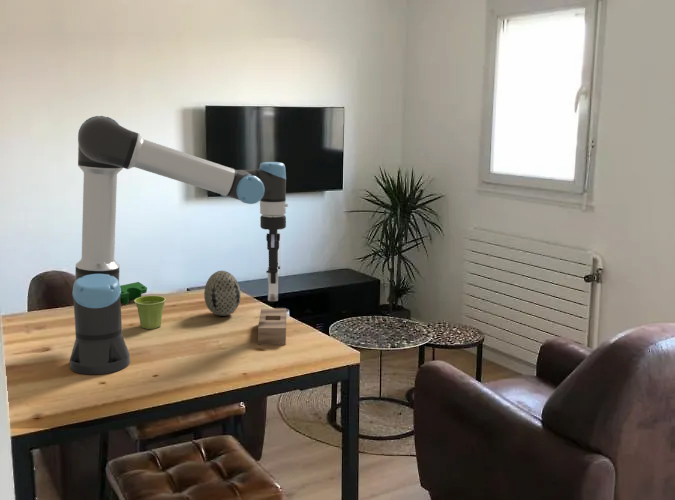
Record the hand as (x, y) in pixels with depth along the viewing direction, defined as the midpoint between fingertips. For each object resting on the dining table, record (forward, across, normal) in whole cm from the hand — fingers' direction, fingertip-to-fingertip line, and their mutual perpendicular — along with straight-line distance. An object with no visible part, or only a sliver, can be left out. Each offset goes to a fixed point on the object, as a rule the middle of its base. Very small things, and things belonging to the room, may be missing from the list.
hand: (273, 291), depth 218 cm
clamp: (+13, +34, +51) cm, 63 cm away
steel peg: (+2, 0, 0) cm, 2 cm away
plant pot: (+13, +7, +38) cm, 41 cm away
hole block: (+13, 0, 0) cm, 13 cm away
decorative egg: (+13, +19, +17) cm, 29 cm away
